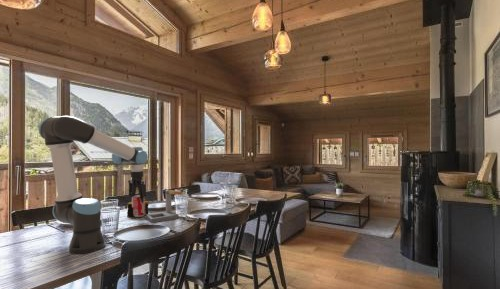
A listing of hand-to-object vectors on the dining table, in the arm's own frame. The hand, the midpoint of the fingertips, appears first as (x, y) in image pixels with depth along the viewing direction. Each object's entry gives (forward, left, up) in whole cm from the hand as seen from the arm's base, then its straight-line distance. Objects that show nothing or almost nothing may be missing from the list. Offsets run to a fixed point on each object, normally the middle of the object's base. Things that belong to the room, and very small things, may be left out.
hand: (137, 207), depth 176 cm
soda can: (+1, 0, -6) cm, 6 cm away
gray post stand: (+16, +2, -10) cm, 19 cm away
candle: (+4, +17, -10) cm, 20 cm away
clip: (+25, +1, +5) cm, 26 cm away
